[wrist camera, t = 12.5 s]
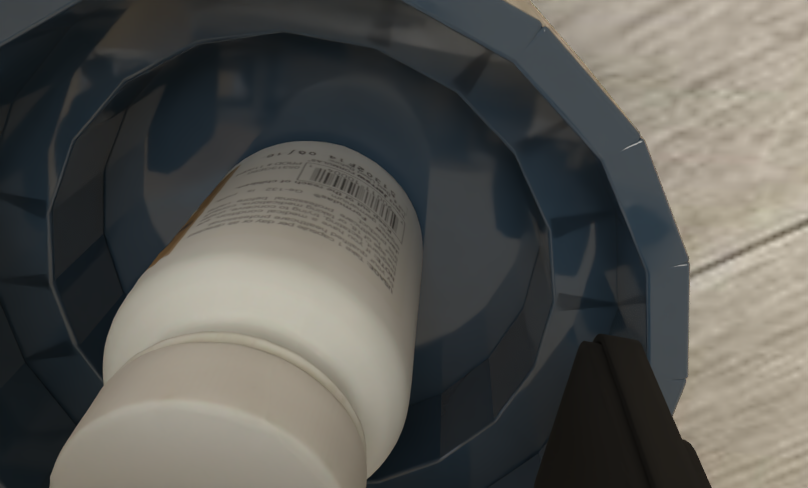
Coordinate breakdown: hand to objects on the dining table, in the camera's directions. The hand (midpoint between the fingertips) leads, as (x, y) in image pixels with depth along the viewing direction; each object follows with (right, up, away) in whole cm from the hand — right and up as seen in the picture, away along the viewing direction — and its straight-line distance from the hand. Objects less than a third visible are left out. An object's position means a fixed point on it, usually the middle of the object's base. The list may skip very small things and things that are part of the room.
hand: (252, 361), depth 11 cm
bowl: (+1, +2, +5) cm, 5 cm away
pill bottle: (0, +2, +5) cm, 5 cm away
